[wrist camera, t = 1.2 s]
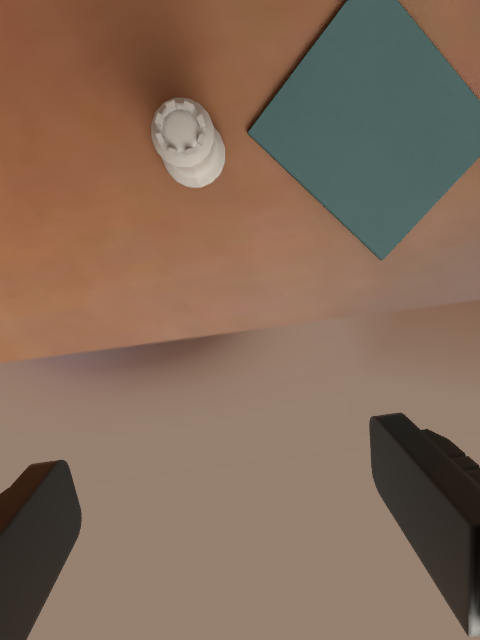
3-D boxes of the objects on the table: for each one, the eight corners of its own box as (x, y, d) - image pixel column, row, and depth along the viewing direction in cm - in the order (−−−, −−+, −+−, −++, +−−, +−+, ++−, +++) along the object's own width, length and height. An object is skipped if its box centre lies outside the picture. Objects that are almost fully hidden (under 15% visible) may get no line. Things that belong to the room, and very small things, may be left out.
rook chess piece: (230, 182, 25) (232, 169, 17) (171, 193, 25) (147, 185, 17) (219, 114, 24) (215, 67, 16) (156, 126, 24) (123, 85, 16)
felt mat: (247, 133, 24) (247, 132, 24) (368, -28, 21) (371, -33, 21) (380, 259, 27) (382, 260, 27) (500, 131, 25) (504, 130, 24)
